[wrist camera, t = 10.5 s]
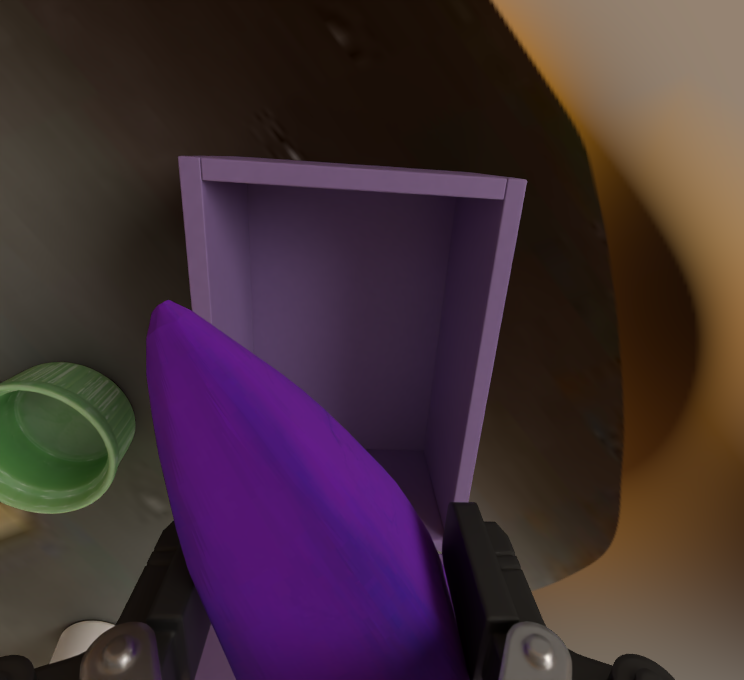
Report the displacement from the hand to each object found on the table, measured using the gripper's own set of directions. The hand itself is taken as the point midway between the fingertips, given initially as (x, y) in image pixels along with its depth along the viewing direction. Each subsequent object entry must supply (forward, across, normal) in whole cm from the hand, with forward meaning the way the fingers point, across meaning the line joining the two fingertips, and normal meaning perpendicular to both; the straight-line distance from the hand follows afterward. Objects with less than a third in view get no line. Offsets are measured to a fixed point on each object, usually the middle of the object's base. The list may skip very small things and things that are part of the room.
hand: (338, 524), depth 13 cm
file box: (+17, 0, 0) cm, 17 cm away
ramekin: (+17, +18, +7) cm, 26 cm away
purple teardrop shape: (+1, 0, 0) cm, 1 cm away
